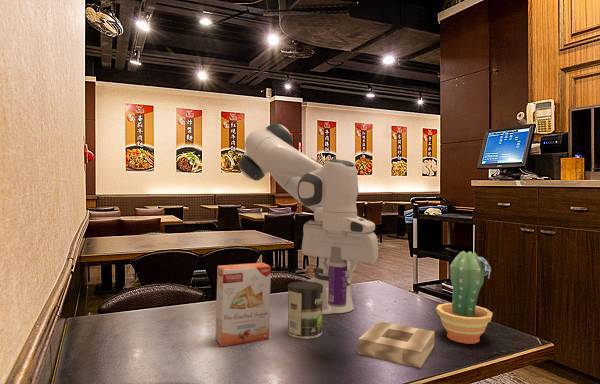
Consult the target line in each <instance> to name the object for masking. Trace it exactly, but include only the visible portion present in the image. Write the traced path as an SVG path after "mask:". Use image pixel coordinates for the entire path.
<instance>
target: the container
mask: <svg viewBox="0 0 600 384" xmlns="http://www.w3.org/2000/svg"><path fill="white" fill-rule="evenodd" d="M345 271H347V260H342V259H341V248H338V247H331V256H330V258H329V286H328V305H330V306H334V307H343V306H346V293H347V278H345V275H346V274H345Z"/></svg>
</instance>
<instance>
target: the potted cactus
mask: <svg viewBox="0 0 600 384" xmlns="http://www.w3.org/2000/svg"><path fill="white" fill-rule="evenodd" d="M449 267H450V268H449V269H450V270H449V272H450V273H449V274H450V281H451V285H452V297H451V298H452V300H451V301H452V302H445V303H441V304H438V305H437V306H436V307H435V309H436V313H437V315H438V316H439V318H440V321H441V324H442V326H443V327H444V329H445V330H446V332H447V334H446V337H447V338H448V339H449V340H451V341H453V342H457V343H462V344H477V343H479V342H481V341H480V337H481V336H482V335H483V334H484V333H485V330H486V329H487V326H488V324H489V323H491V321H492V317H493V312H492V311H490V310H489V309H488V308H485V307H481V306H478V305H477V301H478V298H479V293H480V291H481V288H482V286H483V284H484V279H485V277H486V276H487V275H488V277H487V279H488V280H489V279H490V276H491V272H492V269H491V266H490V264H489V262H488V261H487V259H486V258H484V257H483V256H478V254H477V253H476V252H474V253H473V252H472V251H468V252H466V251H465V250H462V251H460V252H459V253H458V254H457V255H456V256H455V258H454V259H453V260H452V261H451V264H450V265H449Z"/></svg>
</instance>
